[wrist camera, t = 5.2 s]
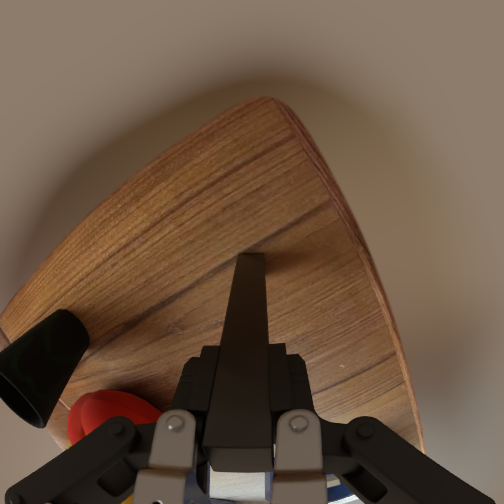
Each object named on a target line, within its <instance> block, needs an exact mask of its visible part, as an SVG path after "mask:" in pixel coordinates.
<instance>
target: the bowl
mask: <svg viewBox="0 0 504 504" xmlns="http://www.w3.org/2000/svg"><path fill="white" fill-rule="evenodd" d="M210 502H211V504H236V503H235V502H232V501H226V500H218V499H210Z"/></svg>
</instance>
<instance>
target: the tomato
mask: <svg viewBox="0 0 504 504" xmlns="http://www.w3.org/2000/svg"><path fill="white" fill-rule="evenodd" d="M162 414H163V413H161V412H160V411H159V410H157V409H156V408H155V407H153V406H152V405H151V404H150V403H148V402H147V401H146V400H143V399H141V398H139V397H137V396H135V395H133V394H130V393H126V392H121V391H117V390H98V391H96V392H94V393H87V394H85V395H83V396H81V397H80V398H79V399H78V400H77V401H76V402H75V404H74V405H73V406H72V407H71V409H70V412H69V415H68V422H67V425H68V436H69V439H70V442H71V445H74V444H75V443H76V442H78V441H79V440H81V439H82V438H83V437H85V436H86V435H87V434H89V433H90V432H92V431H93V430H94V429H96V428H97V427H98V426H100V425H101V424H102V423H104V422H105V421H106V420H108V419H109V418H112V417H115V416H124V417H127V418H129V419H131V420H132V421H133V423H134V424H135V425H137V424H146V423H153V422H156V421H157V420H158V419H159V417H160V416H161V415H162Z"/></svg>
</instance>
